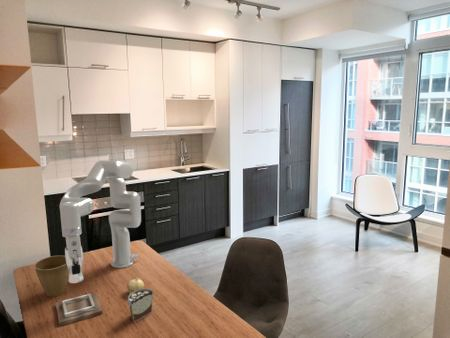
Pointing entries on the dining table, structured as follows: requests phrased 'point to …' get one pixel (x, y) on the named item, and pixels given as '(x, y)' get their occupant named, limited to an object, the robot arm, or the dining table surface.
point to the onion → (135, 285)
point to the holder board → (78, 308)
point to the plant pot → (52, 274)
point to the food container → (140, 303)
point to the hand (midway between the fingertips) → (75, 270)
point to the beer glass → (72, 278)
